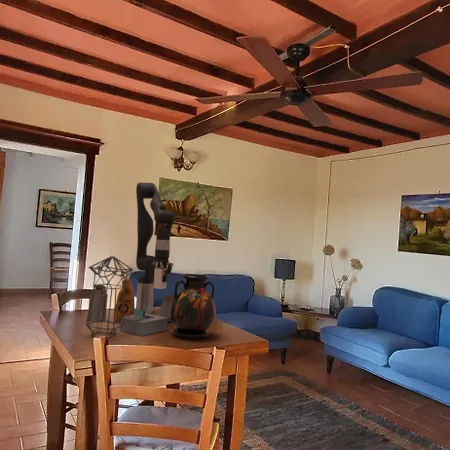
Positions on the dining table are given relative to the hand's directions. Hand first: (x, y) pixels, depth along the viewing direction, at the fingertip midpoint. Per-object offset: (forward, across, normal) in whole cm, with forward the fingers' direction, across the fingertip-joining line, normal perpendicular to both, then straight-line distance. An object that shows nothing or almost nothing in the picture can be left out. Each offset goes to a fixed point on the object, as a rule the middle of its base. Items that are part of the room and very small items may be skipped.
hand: (160, 281), depth 208 cm
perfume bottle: (+22, -25, -18) cm, 37 cm away
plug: (+3, 0, 0) cm, 3 cm away
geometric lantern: (+21, +1, -36) cm, 42 cm away
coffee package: (+22, -14, -10) cm, 28 cm away
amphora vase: (+22, +27, -7) cm, 35 cm away
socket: (+21, +5, -16) cm, 27 cm away
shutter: (+15, +5, -23) cm, 28 cm away
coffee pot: (+22, +2, +13) cm, 26 cm away
